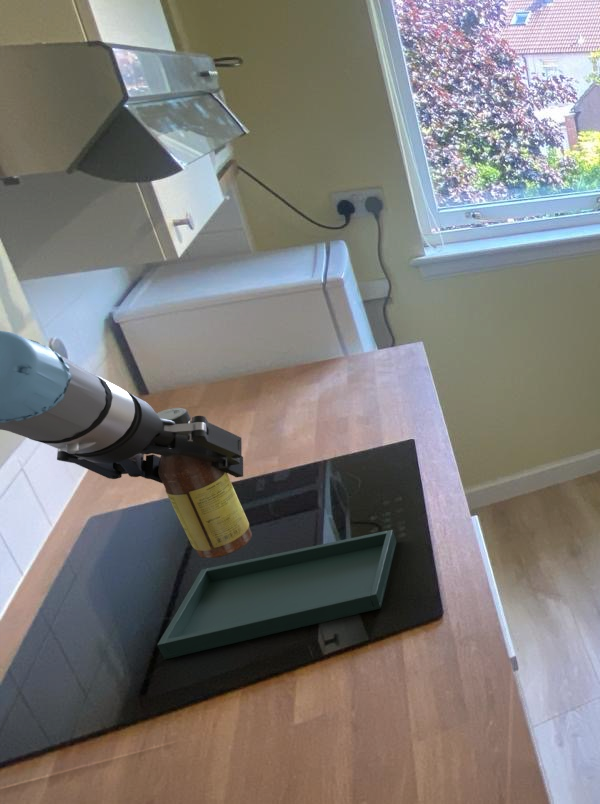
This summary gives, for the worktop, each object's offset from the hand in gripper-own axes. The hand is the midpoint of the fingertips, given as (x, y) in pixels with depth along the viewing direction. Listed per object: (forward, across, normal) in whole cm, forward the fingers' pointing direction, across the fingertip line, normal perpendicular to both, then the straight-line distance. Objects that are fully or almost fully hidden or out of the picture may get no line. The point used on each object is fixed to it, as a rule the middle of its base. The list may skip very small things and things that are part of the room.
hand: (209, 472), depth 96 cm
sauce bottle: (+4, 0, -9) cm, 10 cm away
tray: (+16, +4, -16) cm, 23 cm away
